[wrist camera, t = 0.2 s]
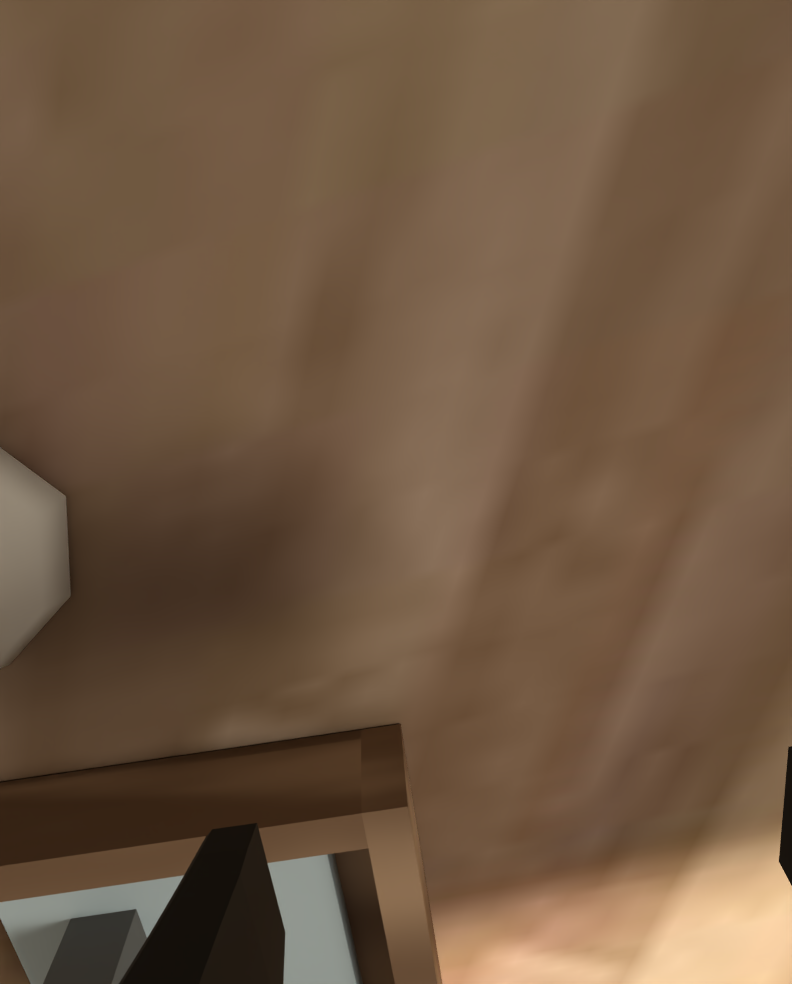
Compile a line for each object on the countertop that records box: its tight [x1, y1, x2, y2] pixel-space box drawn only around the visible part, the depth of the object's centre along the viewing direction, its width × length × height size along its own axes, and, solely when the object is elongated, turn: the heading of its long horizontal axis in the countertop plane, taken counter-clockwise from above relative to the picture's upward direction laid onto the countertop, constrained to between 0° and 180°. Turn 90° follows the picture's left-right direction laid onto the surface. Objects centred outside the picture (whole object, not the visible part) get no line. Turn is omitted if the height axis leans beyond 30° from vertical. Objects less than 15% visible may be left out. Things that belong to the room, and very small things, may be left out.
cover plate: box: [0, 853, 363, 984], centre depth 20 cm, size 9×10×4 cm
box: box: [0, 724, 442, 984], centre depth 21 cm, size 12×13×3 cm
